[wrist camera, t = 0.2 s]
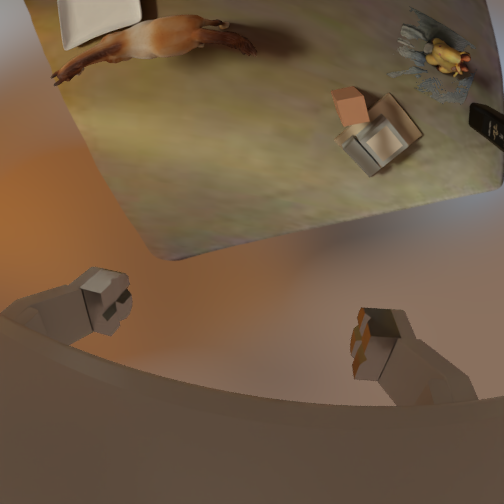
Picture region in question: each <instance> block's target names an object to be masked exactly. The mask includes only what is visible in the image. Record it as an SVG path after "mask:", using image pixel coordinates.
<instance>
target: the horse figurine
mask: <svg viewBox="0 0 504 504" xmlns="http://www.w3.org/2000/svg"><path fill="white" fill-rule="evenodd" d="M208 25H211V26H219V27H220V29H227V28H228V27H229V23H228V22H222V21H220V20H208V19H204V18H202V17H200V16H198V15H175V16H167V17H161V18H157V19H155V20H147V21H143V22H140V23H138V24H136V25H134V26H132V27H131V28H128V29H126V30H124V31H118V32H114V33H112V34H108V35H106V36H105V37H103V39H102V40H101V41H100V43H99V44H97V45H96V46H94V47H92V48H90V49H89V50H87V51H85V52H83V53H82V54H80V55H78V56H76V57H75V58H73V59H72V60H70V61H69V62H68V63H66V64H65V65H64V66H63V67H62V68H61V69H60V70H58V71H56V72H55V73H54V74H53V75H52V76H51V78H54V77H56V76H57V77H58V78H59V81H57V82H56V83H55V84H54V86H57V85H59V84H61V83H62V82H63V81H70V80H71V79H72V78H73V77H74V76H75V75H80V74H81V72H82V71H83V70H84V67H86V66H88V65H91V64H94V63H98V62H102V61H107V62H108V63H118V62H121V61H127V60H129V59H131V58H132V57H133V58H140V59H153V58H156V57H171V56H177V55H182V54H185V53H187V52H189V51H190V50H192V49H194V48H196V47H199V48H203V47H204V43H208V44H214V43H216V44H223V45H227V46H229V47H231V48H233V47H235V49H237V48H238V49H239V50H240V51H241V52H242V53H243V54H247V55H248V56H250V54H252V55H253V56H255V57H256V54H257V51H256V49H255V47H254V46H253V45H252V43H251V42H250V41H249V40H248V39H247V38H245V37H243V36H240V35H239V34H237V33H234V32H220V31H215V30H208V29H204V28H202V27H203V26H208Z"/></svg>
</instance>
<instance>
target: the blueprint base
mask: <svg viewBox="0 0 504 504" xmlns="http://www.w3.org/2000/svg"><path fill="white" fill-rule="evenodd" d="M367 112H368V116H369V120H370V122H364V123H359V124H354V125H350V126H349V127H347V128H346V129H345V130H344V131H343V132H342V133H341V134H339V135H338V136H337V137H336V138H335V139H334V140H335V142H336V143H337V144H338V145H339V146H340V147H341V148H342V149H343V150H344V151H345V152H346V153H347V154H348V155H349V156H350V157H351V158H352V159H353V160H354V161H355V162H356V163H357V164H358V165H359V166H360V168H361V169H362V170H363V171H364V172H365V173H366V174H367V175H368V176H369V177H371V176H372V175H373V174H375V173H376V172H377V171H378V170H380V169H381V168H382V167H384V166H385V165H386V164H387V163H389V162H390V161H391V160H392V159H394V158H395V157H396V156H397V155H398V154H400V153H401V152H402V151H403V150H405V149H406V148H407V147H408V146H409V145H410V144H412V143H413V142H414V141H415V140H417V139H418V138H419V137H420V136H421V135H422V134H421V133H420V131H419V130H418V128H417V127H416V126H415V124H414V123H413V122H412V121H411V119H410V118H409V117H408V115H407V114H406V113H405V112H404V110H403V109H402V108H401V107H400V105H399V104H398V103H397V102H396V101H395V99H394V98H393V97H392V96H391V95H390V94H389V93H387V94H386V95H385V96H383V97H382V98H381V99H380V100H379V101H377V102H376V103H375V104H374V105H373V106H372V107H370V108H369V109H368V110H367Z"/></svg>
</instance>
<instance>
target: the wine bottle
mask: <svg viewBox="0 0 504 504" xmlns="http://www.w3.org/2000/svg"><path fill="white" fill-rule="evenodd" d="M469 125H470V127H472V128H473V129H474V130H476V131H477V132H478V133H480V134H481V135H482V136H484V137H485V138H486V139H488V140H489V141H490V142H492V143H493V144H494V145H495V146H497V147H498V148H499V149H500V150H501V151H503V152H504V115H503V114H501V113H499V112H498V111H496V110H494V109H492V108H491V107H489V106H487V105H483V104H478V103H472V104H471V105H470V113H469Z"/></svg>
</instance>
